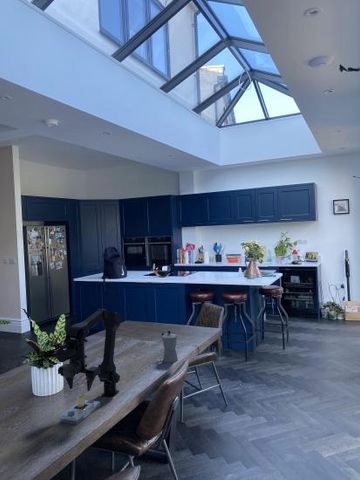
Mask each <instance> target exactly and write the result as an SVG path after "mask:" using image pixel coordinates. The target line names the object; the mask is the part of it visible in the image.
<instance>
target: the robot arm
mask: <svg viewBox="0 0 360 480" xmlns="http://www.w3.org/2000/svg"><path fill="white" fill-rule="evenodd" d="M121 319H122V316H121V315H120V314H119V312H113V311H110V310H109V309H107V308H98V309H97V310H96V311H95V312H94V313H92V314H91V315H90V316H88V317H87V318H86V319H85V320H83V321H82V322H77V323H75V324H72V325H71V326H69V327H68V330H67V332H66V335H65V338H64V340H63V342H62V343H63V344H60V345H59V348H58V349H57V350H56V353H55V356H56V359H57V361H58V362H60V363H64V362H67V361H69V362H68V363H64V364H63V365H61V366H59V367H58V369H57V371H58V374H57V375H60V376H61V377H63V378H64V379H65V380H66V382H67V385H68V387H69V389H70V390H72V389H73V386H74V377H75V376H76V375H79V374H80V373H81V374H85V375H84V376H85V377H84V378H85V380H86V389H87V392H91V388H92V385H93V383H94V381H95V379H96V377H98V380H99V382H100V383H103V393H101V396H103V397H113V398H114V396H115V395H117V394H118V393H119V392H120V390H119V389H117V384H118V383H119V381H120V380H121V376H120V375H119V373H117V367H116V364H115V361H114V356H115V344H116V333H117V330H118V329H119V327H120V325H121V321H122V320H121ZM101 321H102V325H103V327H104V330H105V335H104V347H103V356H102V362H101V363H100V364H98V365H97V366H90V367H89V368H88V364H87V363H86V359H87V358H88V355H87V354H86V350H85V349H86V347H85V343H88V339H87V338H86V337H88V335H89V333H90V330H92V328H94V327H95V326H96V325H98V324H99V323H100V322H101Z"/></svg>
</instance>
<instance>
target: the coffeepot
mask: <svg viewBox="0 0 360 480" xmlns="http://www.w3.org/2000/svg"><path fill="white" fill-rule="evenodd" d="M177 339H178V335H177V334H176V333H171V330H168V331H167V333H166V332H162V333H161V340H162V344H163V348H164V350H163V355H162V361H163V363H167V364H170V363H171V364H172V363H176V362H178V354H177V350H176V347H177Z"/></svg>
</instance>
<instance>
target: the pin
mask: <svg viewBox="0 0 360 480" xmlns="http://www.w3.org/2000/svg"><path fill="white" fill-rule="evenodd" d="M84 401H85V394H84V393H78V394H77V395H76V403H77V409H81V410H83V409H84V408H85V402H84Z"/></svg>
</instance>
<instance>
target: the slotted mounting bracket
mask: <svg viewBox="0 0 360 480" xmlns="http://www.w3.org/2000/svg"><path fill="white" fill-rule="evenodd" d="M84 402H85V408H84V409H83V410H81V409H77V402H76V403H75V404H73V405H72V406H71V407H69V408H68V409H66V410H65V411H64V412H62V413H60V416H59V417H60V423H65V424H70V425H74V426H75V425H76V426H77V425H78V424H79V423H80V422H81V421H83V420H84V419H85V418H87V416H89V415H90V414H92V413H93V412H94V411H95V410H96V409H98V408H99V407H100V406H101V401H97V400H93V399H84Z"/></svg>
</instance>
